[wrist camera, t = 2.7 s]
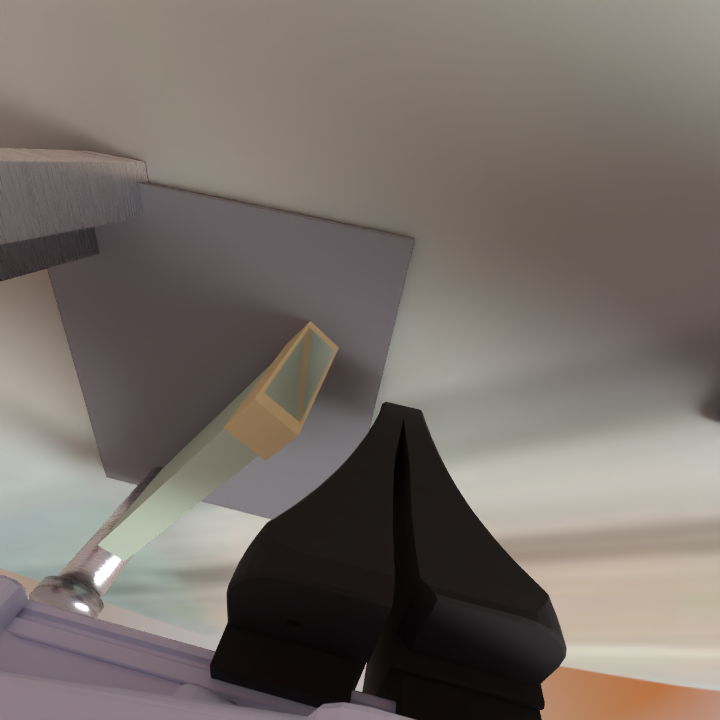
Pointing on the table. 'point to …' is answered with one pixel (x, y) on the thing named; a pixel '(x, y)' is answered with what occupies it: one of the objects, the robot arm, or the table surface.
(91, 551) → the hinge post
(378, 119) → the table surface
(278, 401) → the pale green flat block
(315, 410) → the mat
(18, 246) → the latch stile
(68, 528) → the table surface
